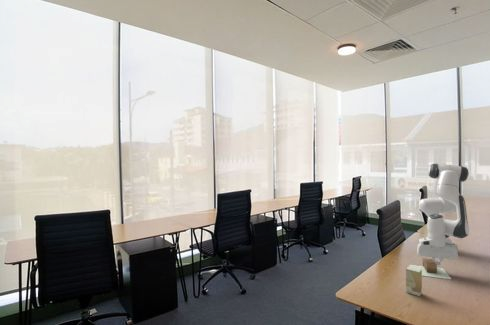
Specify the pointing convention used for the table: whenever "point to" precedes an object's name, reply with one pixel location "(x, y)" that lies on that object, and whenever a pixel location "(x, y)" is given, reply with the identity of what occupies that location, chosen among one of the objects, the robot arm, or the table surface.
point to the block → (429, 265)
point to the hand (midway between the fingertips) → (437, 264)
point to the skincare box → (414, 281)
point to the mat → (440, 273)
